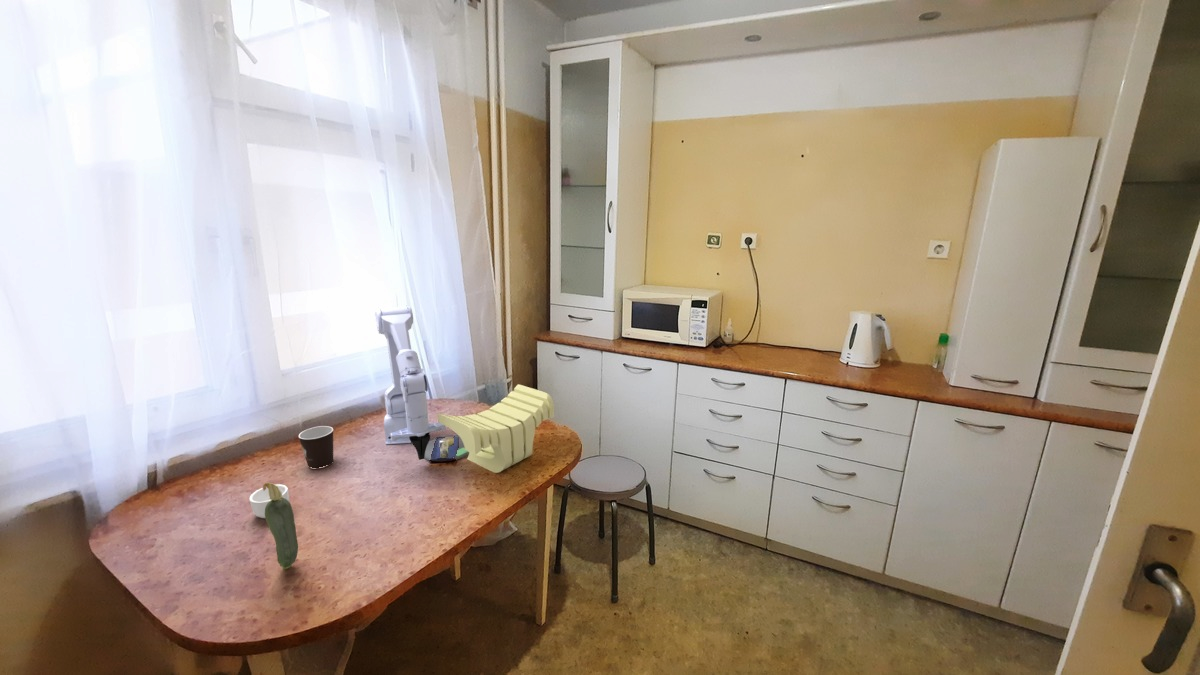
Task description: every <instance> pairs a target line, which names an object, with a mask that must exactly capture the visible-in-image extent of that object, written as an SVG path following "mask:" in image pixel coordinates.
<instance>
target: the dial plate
mask: <svg viewBox="0 0 1200 675" xmlns="http://www.w3.org/2000/svg"><path fill="white" fill-rule="evenodd" d="M454 436H455V437H459V448H458V450H457V454H456V456H455V459H459V460H462V459H464V458H466V457H468V456H469V452H468V451H466V450H465V447H464V444H463V441H462V439H461V438H460V436H459V435H458V434H452V435H445V436H442V437H454ZM437 438H438V437H436V438H434V439H430V440H429V442H428V445H427V447H426V451H425V458H424V459H423V460H426V461H428V460H429V459H431V454H432V451H433V448H434V443H435V441H436V439H437Z"/></svg>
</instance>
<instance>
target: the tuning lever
mask: <svg viewBox="0 0 1200 675" xmlns="http://www.w3.org/2000/svg"><path fill="white" fill-rule="evenodd" d="M452 445H454V438H453V437H445V438H443V439H441V440H439V447H440V457H441V458H446V457H448V456H449V451H448V449H449V446H452Z"/></svg>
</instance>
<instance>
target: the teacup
mask: <svg viewBox="0 0 1200 675" xmlns="http://www.w3.org/2000/svg"><path fill="white" fill-rule="evenodd" d="M275 485H276V486H277V487H278V488H279V490H280V492H281V494H282V496H281V497H283V498H285V499H287V500H288V501H289V502H290V492H289V488H288V487H287V486H286V485H284V484H280V483H279V484H275ZM263 490H264V489H263V487H261V488H259V489H257V490H255V491H254V492H252V493H251V494H250V496H249V501H248V502H249V503H250V508H251V509H252V513H253V514H254V516H256V517H258V518H261V519H266V518H265V508H266V505H267V503H268V502H269V501H270V500H272V499H269V498H270V496H269V490H268V488H267V487H266V489H265V491H263Z"/></svg>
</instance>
